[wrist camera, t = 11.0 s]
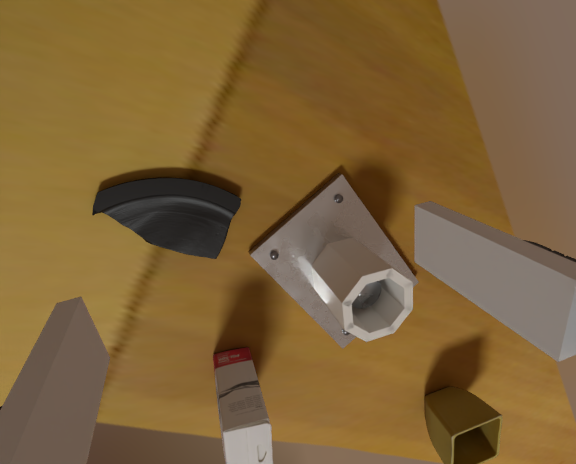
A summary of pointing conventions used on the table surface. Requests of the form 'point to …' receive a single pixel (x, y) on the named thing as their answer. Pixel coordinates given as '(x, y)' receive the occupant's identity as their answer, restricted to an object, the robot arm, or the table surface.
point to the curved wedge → (172, 213)
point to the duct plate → (312, 240)
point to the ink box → (241, 409)
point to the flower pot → (462, 426)
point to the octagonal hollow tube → (349, 283)
